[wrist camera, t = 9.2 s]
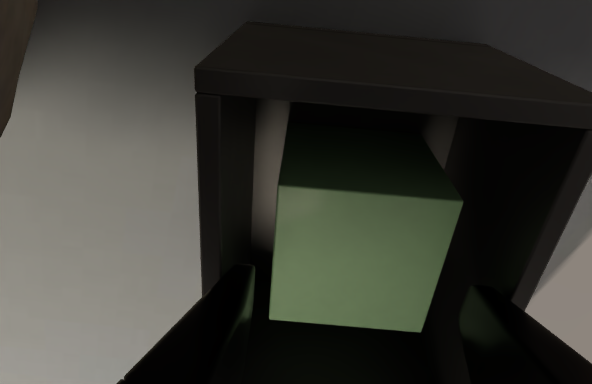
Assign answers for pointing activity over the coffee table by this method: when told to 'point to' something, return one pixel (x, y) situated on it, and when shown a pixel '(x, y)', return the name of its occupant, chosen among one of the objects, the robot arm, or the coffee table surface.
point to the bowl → (13, 49)
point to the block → (359, 228)
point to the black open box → (397, 118)
